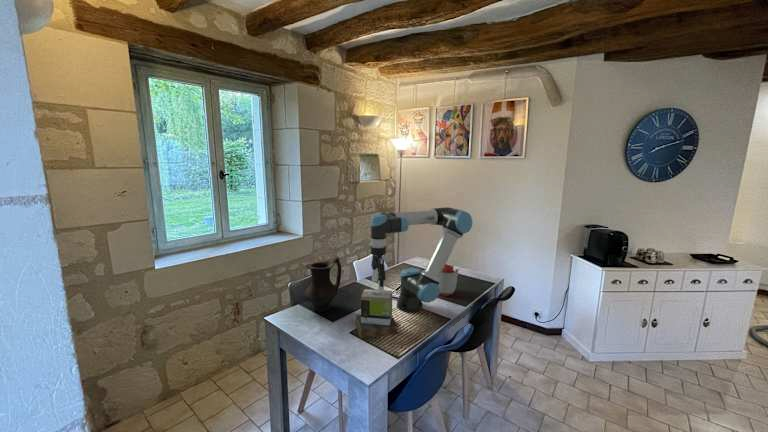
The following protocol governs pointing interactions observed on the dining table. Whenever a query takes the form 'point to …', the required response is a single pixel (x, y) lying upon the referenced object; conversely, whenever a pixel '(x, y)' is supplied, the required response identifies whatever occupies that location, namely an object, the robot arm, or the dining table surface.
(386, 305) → the tea box
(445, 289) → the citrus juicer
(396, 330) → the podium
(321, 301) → the jug
